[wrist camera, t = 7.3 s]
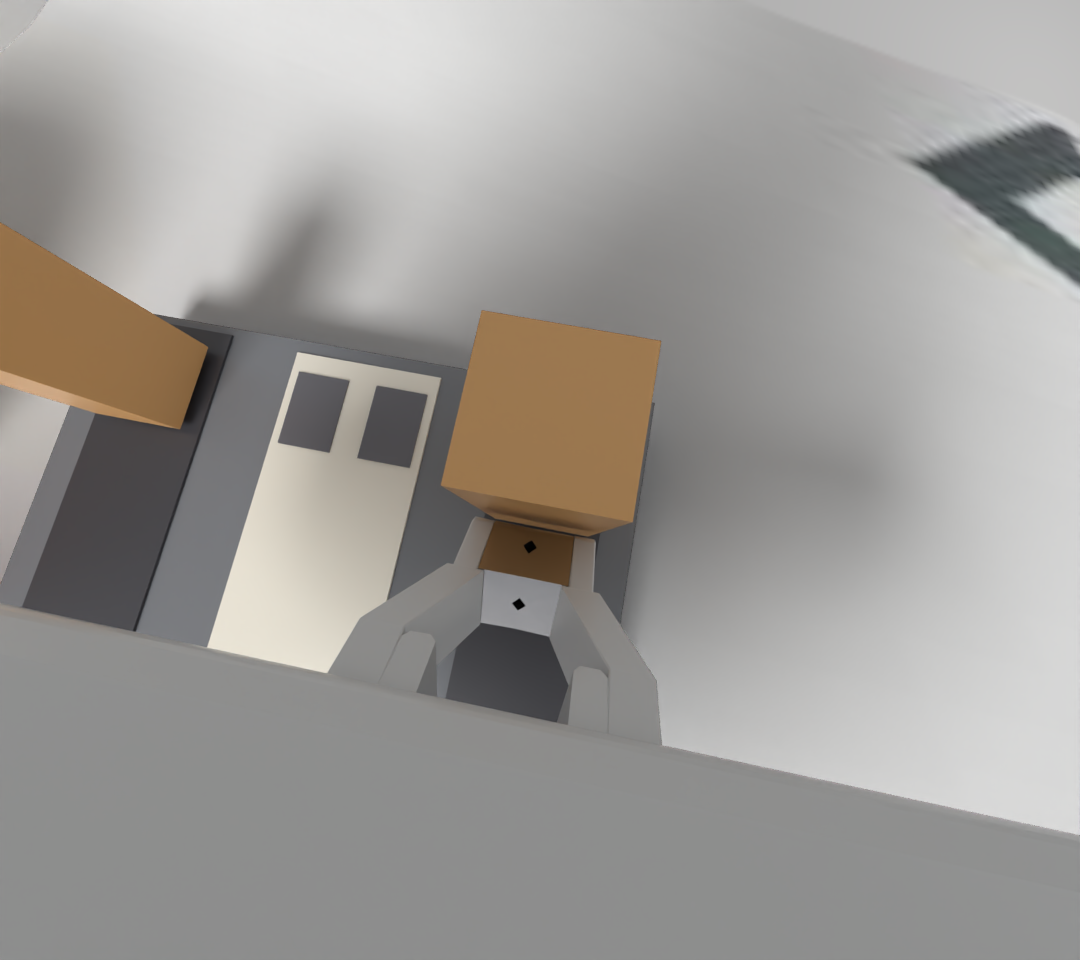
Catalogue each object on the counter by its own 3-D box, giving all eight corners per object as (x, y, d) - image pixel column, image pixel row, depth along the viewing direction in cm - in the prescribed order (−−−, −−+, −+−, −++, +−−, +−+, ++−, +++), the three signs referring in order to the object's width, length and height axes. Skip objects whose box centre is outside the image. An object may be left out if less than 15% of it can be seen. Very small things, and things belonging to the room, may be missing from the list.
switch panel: (582, 774, 15) (590, 822, 12) (55, 658, 16) (-44, 680, 13) (638, 424, 17) (655, 401, 14) (169, 339, 18) (104, 303, 15)
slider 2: (587, 536, 13) (632, 522, 6) (495, 518, 13) (440, 485, 6) (603, 445, 14) (660, 341, 7) (513, 429, 14) (481, 310, 7)
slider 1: (180, 429, 14) (-174, 313, 7) (96, 413, 14) (-330, 284, 7) (208, 347, 15) (-98, 163, 8) (127, 332, 15) (-246, 138, 8)
